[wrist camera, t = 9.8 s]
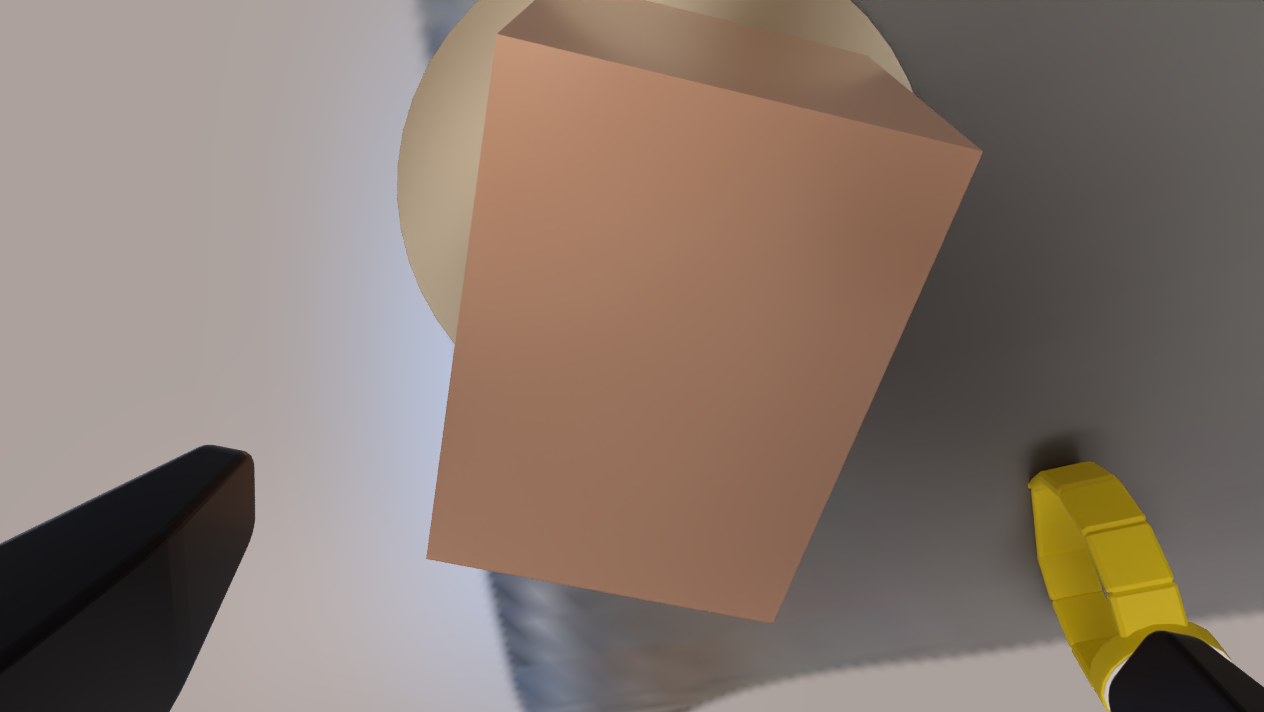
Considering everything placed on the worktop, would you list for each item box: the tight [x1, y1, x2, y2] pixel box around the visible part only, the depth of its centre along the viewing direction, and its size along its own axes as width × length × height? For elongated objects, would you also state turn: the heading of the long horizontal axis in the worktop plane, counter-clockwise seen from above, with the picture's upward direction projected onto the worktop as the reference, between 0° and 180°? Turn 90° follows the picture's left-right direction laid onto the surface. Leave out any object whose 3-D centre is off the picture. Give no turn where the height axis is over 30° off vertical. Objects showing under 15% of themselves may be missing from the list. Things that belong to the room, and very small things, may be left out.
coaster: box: [397, 0, 913, 344], centre depth 19 cm, size 12×12×1 cm
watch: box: [1028, 461, 1232, 712], centre depth 21 cm, size 6×3×6 cm, turn 18°
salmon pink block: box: [427, 0, 983, 624], centre depth 16 cm, size 6×9×7 cm
